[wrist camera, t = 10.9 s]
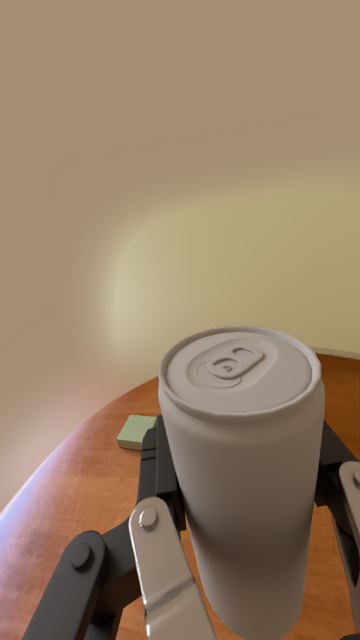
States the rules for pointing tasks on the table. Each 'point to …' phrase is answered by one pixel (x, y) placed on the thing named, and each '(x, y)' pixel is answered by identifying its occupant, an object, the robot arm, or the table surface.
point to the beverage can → (246, 467)
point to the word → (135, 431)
